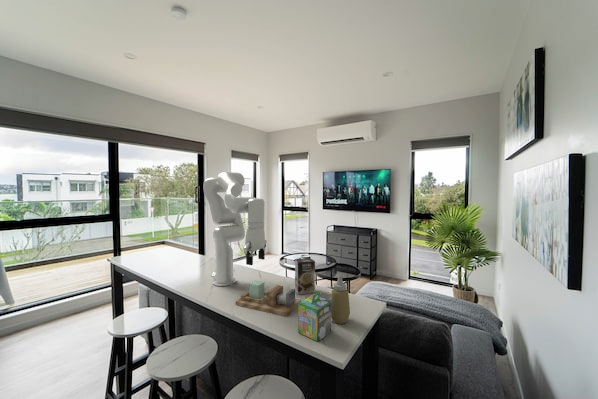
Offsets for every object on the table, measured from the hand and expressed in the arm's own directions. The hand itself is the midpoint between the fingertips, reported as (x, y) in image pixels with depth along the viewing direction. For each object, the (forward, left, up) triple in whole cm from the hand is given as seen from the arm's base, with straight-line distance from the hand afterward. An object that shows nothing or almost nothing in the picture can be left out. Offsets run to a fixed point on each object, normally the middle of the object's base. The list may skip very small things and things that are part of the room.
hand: (255, 261), depth 118 cm
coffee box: (+16, +20, -19) cm, 32 cm away
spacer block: (+1, 0, -17) cm, 17 cm away
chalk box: (+34, -13, -19) cm, 41 cm away
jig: (+7, 0, -18) cm, 20 cm away
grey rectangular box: (+14, 0, -16) cm, 21 cm away
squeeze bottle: (+40, -1, -19) cm, 45 cm away
